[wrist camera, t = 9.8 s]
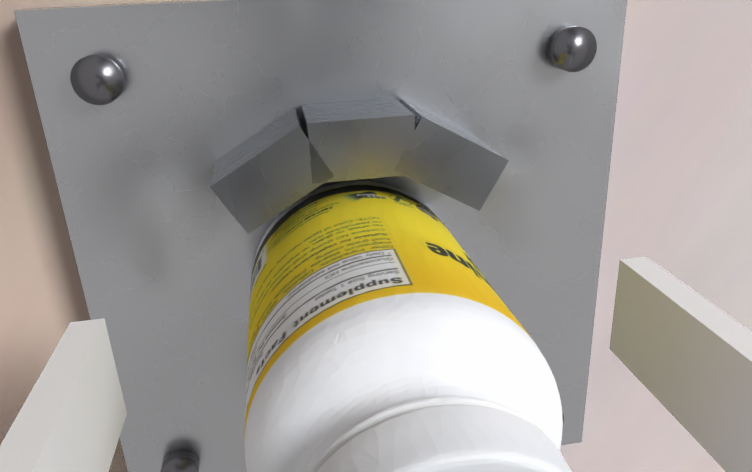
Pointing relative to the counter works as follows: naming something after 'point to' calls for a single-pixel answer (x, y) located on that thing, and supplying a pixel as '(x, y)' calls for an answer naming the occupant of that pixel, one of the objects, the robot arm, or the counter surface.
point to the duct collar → (316, 171)
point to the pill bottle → (387, 348)
